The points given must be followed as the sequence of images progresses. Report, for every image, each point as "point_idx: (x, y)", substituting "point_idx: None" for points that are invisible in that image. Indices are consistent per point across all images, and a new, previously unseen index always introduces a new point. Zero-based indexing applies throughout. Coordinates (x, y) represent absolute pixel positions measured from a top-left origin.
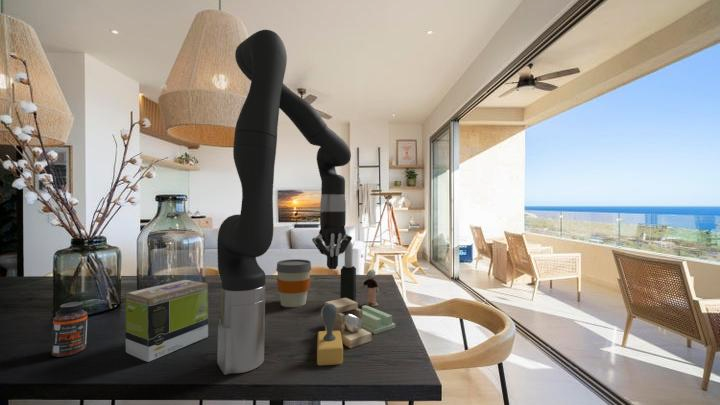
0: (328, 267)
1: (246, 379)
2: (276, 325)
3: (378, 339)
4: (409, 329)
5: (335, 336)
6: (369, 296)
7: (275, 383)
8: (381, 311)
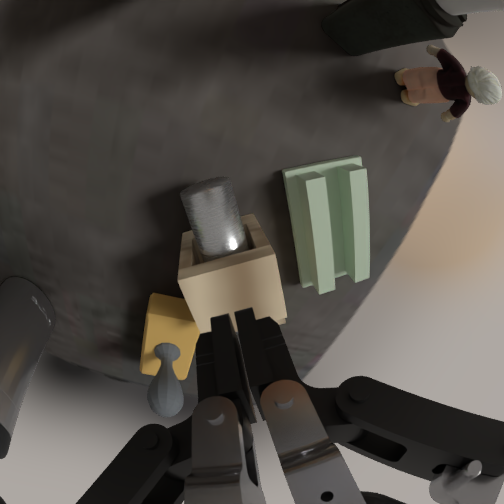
0: (211, 321)
1: (48, 347)
2: (60, 138)
3: (291, 305)
4: (376, 280)
5: (182, 347)
6: (418, 82)
7: (86, 367)
8: (369, 241)
